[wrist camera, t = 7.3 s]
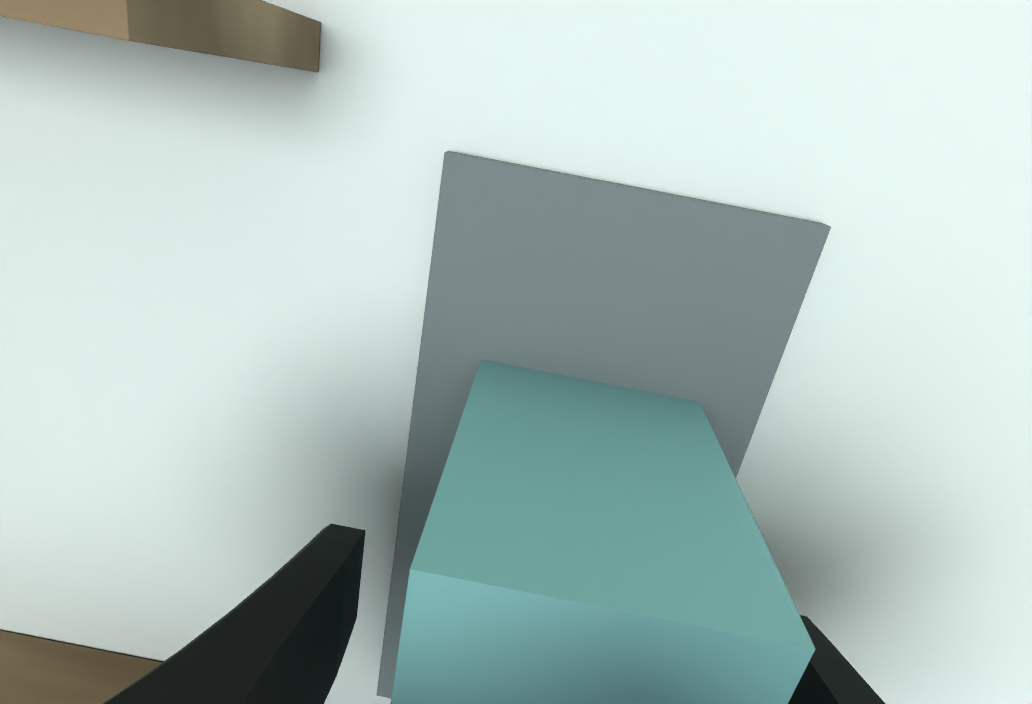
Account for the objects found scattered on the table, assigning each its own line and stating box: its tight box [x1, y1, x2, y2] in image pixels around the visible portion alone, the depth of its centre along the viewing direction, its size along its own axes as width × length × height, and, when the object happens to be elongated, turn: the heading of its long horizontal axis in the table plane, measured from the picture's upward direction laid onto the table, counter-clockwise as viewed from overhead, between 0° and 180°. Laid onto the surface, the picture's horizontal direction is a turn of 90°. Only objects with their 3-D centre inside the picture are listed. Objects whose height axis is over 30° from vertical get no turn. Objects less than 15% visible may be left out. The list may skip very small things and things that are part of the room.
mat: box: [377, 151, 831, 698], centre depth 13 cm, size 14×7×1 cm, turn 170°
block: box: [391, 359, 815, 704], centre depth 10 cm, size 6×4×6 cm
